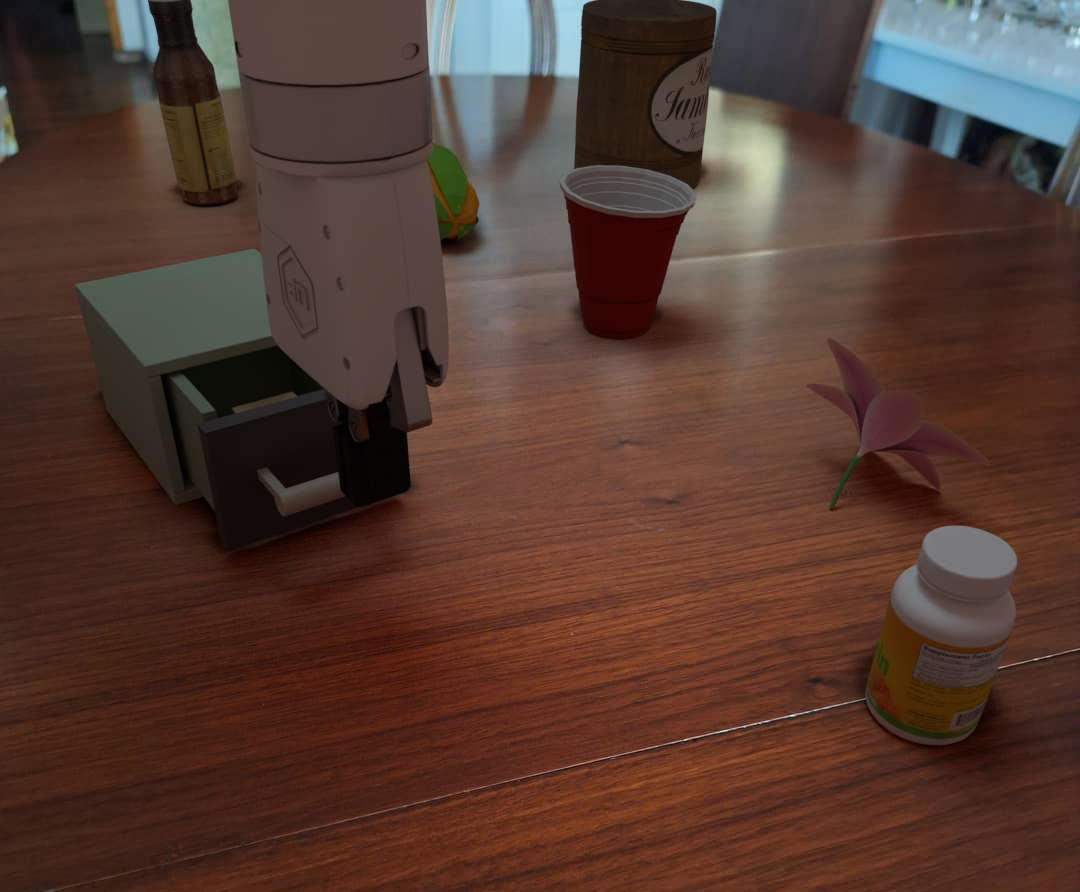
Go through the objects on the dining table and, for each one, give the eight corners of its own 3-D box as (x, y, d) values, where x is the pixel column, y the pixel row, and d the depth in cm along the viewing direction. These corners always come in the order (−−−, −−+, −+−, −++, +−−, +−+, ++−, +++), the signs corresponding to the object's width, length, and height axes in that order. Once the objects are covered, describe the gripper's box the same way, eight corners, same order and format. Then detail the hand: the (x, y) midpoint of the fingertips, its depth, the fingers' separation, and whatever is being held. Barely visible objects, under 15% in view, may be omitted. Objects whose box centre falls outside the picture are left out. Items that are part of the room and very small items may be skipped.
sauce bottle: (236, 187, 117) (206, -10, 105) (241, 204, 112) (210, 0, 100) (176, 192, 115) (138, -8, 104) (178, 210, 110) (139, 2, 99)
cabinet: (358, 449, 71) (345, 317, 65) (175, 506, 65) (144, 366, 59) (272, 368, 80) (254, 247, 75) (107, 411, 74) (74, 283, 69)
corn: (413, 177, 95) (385, 122, 111) (412, 257, 100) (385, 194, 115) (492, 178, 97) (453, 124, 113) (487, 257, 101) (451, 194, 117)
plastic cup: (665, 362, 82) (679, 212, 75) (537, 340, 85) (539, 193, 78) (696, 311, 91) (712, 171, 84) (579, 293, 93) (584, 156, 86)
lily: (975, 564, 63) (1044, 415, 61) (815, 511, 59) (884, 350, 57) (868, 512, 74) (923, 384, 72) (728, 464, 70) (782, 328, 68)
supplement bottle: (865, 662, 54) (907, 506, 48) (974, 684, 53) (1030, 527, 47) (860, 734, 50) (905, 574, 44) (979, 760, 48) (1040, 598, 43)
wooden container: (685, 204, 115) (706, -21, 102) (557, 188, 118) (563, -30, 106) (711, 168, 126) (733, -38, 113) (594, 155, 130) (603, -46, 117)
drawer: (438, 523, 62) (432, 408, 57) (257, 589, 57) (234, 467, 52) (312, 405, 74) (298, 301, 69) (152, 450, 68) (126, 341, 64)
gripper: (186, 91, 46) (250, 451, 56) (336, 175, 36) (379, 593, 46) (342, 72, 49) (374, 414, 60) (517, 143, 39) (518, 539, 50)
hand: (376, 491), depth 53 cm, fingers closed
